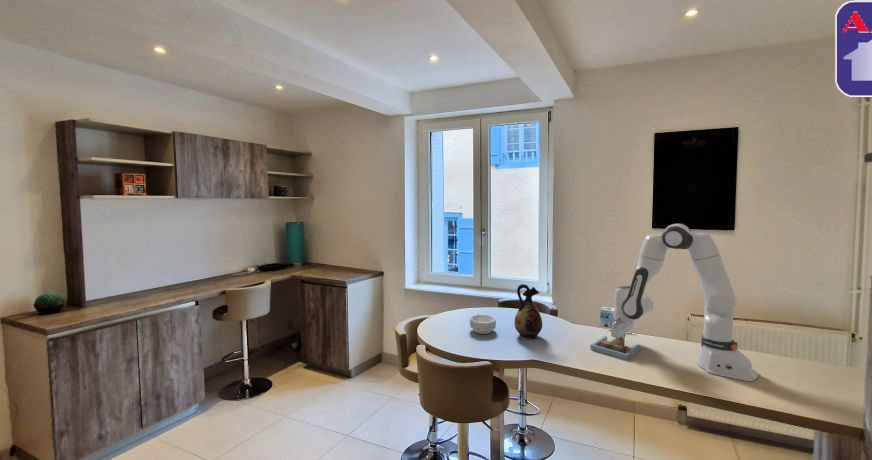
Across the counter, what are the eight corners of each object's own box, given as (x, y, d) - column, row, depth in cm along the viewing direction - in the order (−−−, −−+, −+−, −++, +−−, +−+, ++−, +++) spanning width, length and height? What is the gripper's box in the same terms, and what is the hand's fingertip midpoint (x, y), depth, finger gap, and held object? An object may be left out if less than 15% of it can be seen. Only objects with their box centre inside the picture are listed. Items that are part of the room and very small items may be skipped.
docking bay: (640, 350, 207) (640, 345, 207) (626, 360, 195) (627, 355, 195) (604, 340, 220) (605, 336, 220) (590, 349, 209) (590, 344, 208)
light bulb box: (599, 326, 242) (600, 309, 241) (600, 323, 248) (601, 306, 247) (618, 329, 237) (619, 311, 236) (619, 325, 243) (620, 308, 242)
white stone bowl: (497, 336, 229) (497, 322, 228) (470, 336, 230) (470, 322, 229) (494, 326, 244) (494, 314, 244) (469, 326, 245) (469, 314, 244)
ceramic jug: (539, 331, 235) (540, 281, 231) (544, 342, 219) (545, 288, 216) (510, 331, 236) (510, 281, 233) (512, 341, 221) (513, 288, 218)
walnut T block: (632, 349, 208) (632, 341, 208) (622, 356, 200) (622, 348, 200) (609, 342, 217) (609, 335, 217) (599, 349, 209) (599, 341, 209)
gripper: (620, 322, 203) (619, 348, 204) (636, 313, 216) (635, 337, 218) (608, 319, 207) (607, 345, 209) (624, 310, 221) (623, 334, 223)
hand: (621, 341), depth 213 cm, fingers closed
